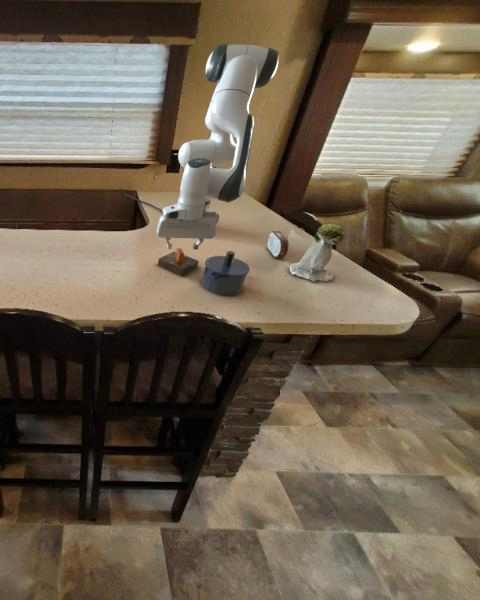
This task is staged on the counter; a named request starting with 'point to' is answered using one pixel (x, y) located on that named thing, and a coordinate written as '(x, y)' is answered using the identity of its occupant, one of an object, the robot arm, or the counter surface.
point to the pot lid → (227, 265)
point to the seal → (179, 255)
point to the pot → (222, 283)
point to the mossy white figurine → (319, 254)
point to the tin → (277, 244)
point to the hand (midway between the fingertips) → (182, 248)
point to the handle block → (178, 264)
